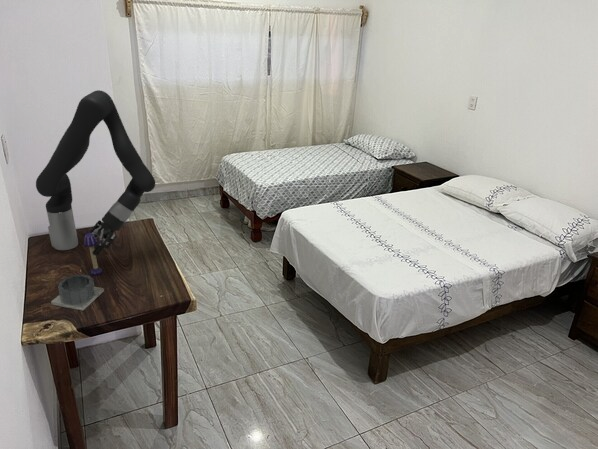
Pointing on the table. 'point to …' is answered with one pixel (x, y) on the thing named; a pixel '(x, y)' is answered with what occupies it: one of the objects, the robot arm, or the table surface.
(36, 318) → the table surface
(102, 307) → the table surface
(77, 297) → the collar stand
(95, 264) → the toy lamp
